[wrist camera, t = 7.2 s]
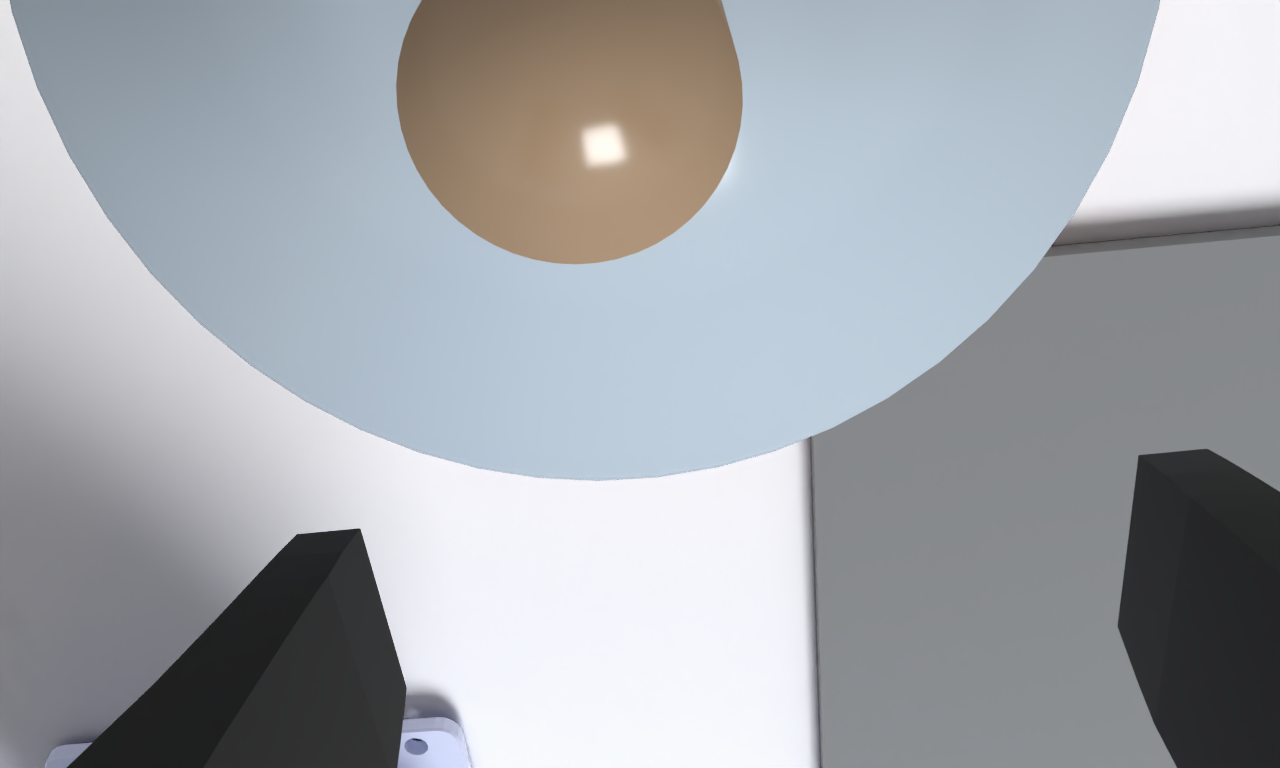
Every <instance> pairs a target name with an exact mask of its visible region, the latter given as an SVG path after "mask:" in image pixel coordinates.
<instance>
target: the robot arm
mask: <svg viewBox="0 0 1280 768" xmlns="http://www.w3.org/2000/svg"><path fill="white" fill-rule="evenodd" d="M1118 629H1119V632H1120V635H1121V638H1122V640H1123V643H1124V646H1125V649H1126V651H1127V654H1128V657H1129V660H1130V662H1131V665H1132V668H1133V671H1134V673H1135V676H1136V679H1137V682H1138V684H1139V687H1140V689H1141V692H1142V694H1143V697H1144V699H1145V702H1146V704H1147V707H1148V709H1149V712H1150V714H1151V717H1152V720H1153V722H1154V725H1155V726H1156V728H1157V730H1158V732H1159V734H1160V736H1161V738H1162V740H1163V742H1164V744H1165V746H1166V748H1167V750H1168V752H1169V753H1170V755H1171V757H1172V759H1173V761H1174V763H1175V765H1176V767H1177V768H1280V491H1278V490H1276V489H1275V488H1273V487H1271V486H1270V485H1268V484H1267V483H1265V482H1263V481H1262V480H1260V479H1259V478H1257V477H1255V476H1254V475H1252V474H1250V473H1249V472H1247V471H1245V470H1244V469H1242V468H1241V467H1239V466H1237V465H1235V464H1234V463H1232V462H1230V461H1229V460H1227V459H1225V458H1223V457H1222V456H1220V455H1218V454H1216V453H1214V452H1212V451H1211V450H1209V449H1198V450H1187V451H1177V452H1166V453H1155V454H1145V455H1138V463H1137V472H1136V480H1135V488H1134V496H1133V504H1132V512H1131V520H1130V528H1129V536H1128V545H1127V553H1126V561H1125V569H1124V577H1123V585H1122V593H1121V601H1120V609H1119V618H1118ZM405 697H406V684H405V681H404V678H403V674H402V671H401V667H400V664H399V660H398V657H397V653H396V650H395V647H394V643H393V640H392V636H391V633H390V629H389V626H388V622H387V619H386V616H385V612H384V609H383V605H382V602H381V598H380V595H379V591H378V588H377V585H376V581H375V578H374V574H373V571H372V567H371V564H370V560H369V557H368V554H367V550H366V547H365V543H364V540H363V536H362V533H361V529H349V530H339V531H328V532H317V533H307V534H297V535H296V536H295V537H294V538H293V539H292V540H291V541H290V542H289V543H288V544H287V545H286V546H285V547H284V548H283V549H282V550H281V551H280V552H279V553H278V554H277V555H276V556H275V557H274V558H273V559H272V560H271V561H270V562H269V563H268V564H267V566H266V567H265V568H264V569H263V570H262V571H261V572H260V573H259V574H258V575H257V576H256V577H255V578H254V579H253V580H252V582H251V583H250V584H249V585H248V586H247V587H246V588H245V589H244V590H243V591H242V592H241V593H240V594H239V595H238V597H237V598H236V599H235V600H234V601H233V602H232V603H231V604H230V605H229V606H228V607H227V608H226V609H225V610H224V612H223V613H222V614H221V615H220V616H219V617H218V618H217V619H216V620H215V621H214V622H213V623H212V624H211V625H210V626H209V627H208V628H207V629H206V630H205V632H204V633H203V634H202V635H201V636H200V637H199V638H198V639H197V640H196V641H195V642H194V643H193V644H192V645H191V646H190V647H189V648H188V649H187V650H186V651H185V652H184V653H183V654H182V655H181V656H180V658H179V659H178V660H177V661H176V662H175V663H174V664H173V665H172V666H171V667H170V668H169V669H168V670H167V671H166V672H165V673H164V674H163V675H162V676H161V677H160V678H159V679H158V680H157V681H156V682H155V683H154V684H153V685H152V686H151V687H150V688H149V689H148V690H147V691H146V692H145V693H144V694H143V695H142V696H141V697H140V698H139V699H138V700H137V701H136V702H135V703H134V704H133V705H132V706H131V707H129V708H128V709H127V710H126V711H125V712H124V713H123V714H122V715H121V716H120V717H119V718H118V719H117V720H116V721H115V722H114V723H113V724H112V725H111V726H110V727H108V728H107V729H106V730H105V731H104V732H103V733H102V734H101V735H100V736H99V737H98V738H97V739H96V740H95V741H94V742H93V743H81V744H68V745H62V746H57V747H56V748H55V749H53V750H52V751H51V753H50V755H49V757H48V759H47V760H46V763H45V765H44V767H45V768H472V767H471V763H470V759H469V755H468V751H467V747H466V743H465V739H464V735H463V731H462V729H461V727H460V726H459V725H458V724H457V723H456V722H454V721H453V720H450V719H448V718H444V717H431V718H418V719H404V720H403V716H404V707H405ZM412 738H417V739H421V740H423V741H415V740H413V739H412Z"/></svg>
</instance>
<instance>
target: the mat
mask: <svg viewBox="0 0 1280 768" xmlns="http://www.w3.org/2000/svg"><path fill="white" fill-rule="evenodd" d="M1198 449H1209V450H1211V451H1212V452H1214V453H1216V454H1218V455H1220V456H1222V457H1223V458H1225V459H1227V460H1229V461H1230V462H1232V463H1234V464H1235V465H1237V466H1239V467H1241V468H1242V469H1244V470H1245V471H1247V472H1249V473H1250V474H1252V475H1254V476H1255V477H1257V478H1259V479H1260V480H1262V481H1263V482H1265V483H1267V484H1268V485H1270V486H1271V487H1273V488H1275V489H1276V490H1278V491H1280V225H1279V226H1268V227H1257V228H1246V229H1235V230H1224V231H1214V232H1203V233H1192V234H1181V235H1170V236H1159V237H1148V238H1137V239H1126V240H1115V241H1105V242H1094V243H1083V244H1072V245H1061V246H1051V247H1050V248H1049V250H1048V251H1047V252H1046V254H1045V255H1044V257H1043V258H1042V259H1041V261H1040V262H1039V263H1038V265H1037V266H1036V268H1035V269H1034V270H1033V271H1032V272H1031V274H1030V275H1029V276H1028V277H1027V278H1026V279H1025V280H1024V281H1023V282H1022V283H1021V284H1020V286H1019V287H1018V288H1017V289H1016V290H1015V291H1014V292H1013V293H1012V294H1011V295H1010V297H1009V298H1008V299H1007V300H1006V301H1005V302H1004V303H1003V304H1002V305H1001V306H1000V307H999V309H998V310H997V311H996V312H995V313H994V314H993V315H992V316H991V317H990V318H989V319H988V320H987V321H986V322H985V323H984V324H983V325H982V326H980V327H979V328H978V329H977V330H976V331H975V332H974V333H972V334H971V335H970V336H969V337H968V338H967V339H966V340H964V341H963V342H962V343H961V344H960V345H959V346H958V347H956V348H955V349H954V350H953V351H952V352H951V353H949V354H948V355H947V356H946V357H945V358H944V359H943V360H941V361H940V362H939V363H938V364H936V365H935V366H933V367H932V368H930V369H929V370H927V371H926V372H925V373H923V374H922V375H920V376H919V377H917V378H916V379H914V380H913V381H912V382H910V383H909V384H907V385H906V386H904V387H903V388H901V389H900V390H899V391H897V392H896V393H894V394H893V395H891V396H890V397H888V398H887V399H885V400H883V401H881V402H880V403H878V404H876V405H874V406H872V407H870V408H868V409H867V410H865V411H863V412H861V413H859V414H857V415H855V416H854V417H852V418H850V419H848V420H846V421H844V422H842V423H841V424H839V425H837V426H835V427H833V428H831V429H828V430H826V431H823V432H821V433H819V434H816V435H814V436H811V458H812V490H813V523H814V555H815V588H816V620H817V653H818V685H819V718H820V750H821V768H1177V767H1176V765H1175V763H1174V761H1173V759H1172V757H1171V755H1170V753H1169V752H1168V750H1167V748H1166V746H1165V744H1164V742H1163V740H1162V738H1161V736H1160V734H1159V732H1158V730H1157V728H1156V726H1155V725H1154V722H1153V720H1152V717H1151V714H1150V712H1149V709H1148V707H1147V704H1146V702H1145V699H1144V697H1143V694H1142V692H1141V689H1140V687H1139V684H1138V682H1137V679H1136V676H1135V673H1134V671H1133V668H1132V665H1131V662H1130V660H1129V657H1128V654H1127V651H1126V649H1125V646H1124V643H1123V640H1122V638H1121V635H1120V632H1119V629H1118V618H1119V609H1120V601H1121V593H1122V585H1123V577H1124V569H1125V561H1126V553H1127V545H1128V536H1129V528H1130V520H1131V512H1132V504H1133V496H1134V488H1135V480H1136V472H1137V463H1138V455H1145V454H1155V453H1166V452H1177V451H1187V450H1198Z"/></svg>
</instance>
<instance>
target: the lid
mask: <svg viewBox="0 0 1280 768" xmlns="http://www.w3.org/2000/svg"><path fill="white" fill-rule="evenodd" d="M1159 3H1160V0H10V4H11V9H12V13H13V16H14V19H15V22H16V25H17V28H18V31H19V34H20V37H21V40H22V43H23V46H24V49H25V52H26V55H27V58H28V61H29V64H30V67H31V70H32V73H33V76H34V79H35V82H36V85H37V88H38V90H39V92H40V94H41V97H42V99H43V101H44V103H45V105H46V107H47V109H48V111H49V114H50V116H51V118H52V120H53V122H54V124H55V126H56V128H57V131H58V133H59V135H60V137H61V139H62V141H63V143H64V146H65V148H66V150H67V152H68V154H69V156H70V158H71V159H72V161H73V163H74V164H75V166H76V167H77V169H78V171H79V172H80V174H81V176H82V177H83V179H84V180H85V182H86V184H87V185H88V187H89V189H90V190H91V192H92V193H93V195H94V197H95V198H96V200H97V202H98V203H99V205H100V206H101V208H102V210H103V211H104V213H105V214H106V216H107V218H108V219H109V220H110V222H111V223H112V224H113V225H114V227H115V228H116V229H117V231H118V232H119V233H120V234H121V236H122V237H123V238H124V240H125V241H126V242H127V243H128V245H129V246H130V247H131V249H132V250H133V251H134V252H135V254H136V255H137V256H138V257H139V259H140V260H141V261H142V263H143V264H144V265H145V266H146V268H147V269H148V270H149V272H150V273H151V274H152V275H153V276H154V277H155V278H156V279H157V280H158V281H159V282H160V283H161V284H162V285H163V286H164V287H165V288H166V289H167V290H168V291H169V292H170V294H171V295H172V296H173V297H174V298H175V299H176V300H177V301H178V302H179V303H180V304H181V305H182V306H183V307H184V308H185V309H186V310H187V311H188V312H189V313H190V314H191V315H192V316H193V317H194V318H195V319H196V320H197V321H198V322H199V323H200V324H201V325H202V326H204V327H205V328H206V329H207V330H208V331H210V332H211V333H212V334H213V335H214V336H216V337H217V338H218V339H219V340H221V341H222V342H223V343H224V344H225V345H227V346H228V347H229V348H230V349H231V350H233V351H234V352H235V353H236V354H237V355H239V356H240V357H241V358H242V359H244V360H245V361H246V362H247V363H248V364H250V365H251V366H252V367H254V368H255V369H257V370H258V371H260V372H262V373H263V374H265V375H266V376H268V377H269V378H271V379H272V380H274V381H275V382H277V383H278V384H280V385H281V386H283V387H284V388H286V389H287V390H289V391H290V392H292V393H293V394H295V395H296V396H298V397H299V398H301V399H303V400H304V401H306V402H308V403H310V404H312V405H314V406H316V407H317V408H319V409H321V410H323V411H325V412H327V413H329V414H331V415H333V416H335V417H337V418H339V419H341V420H343V421H345V422H347V423H349V424H350V425H352V426H354V427H356V428H358V429H360V430H362V431H365V432H368V433H370V434H373V435H375V436H378V437H381V438H383V439H386V440H388V441H391V442H393V443H396V444H399V445H401V446H404V447H406V448H409V449H412V450H414V451H417V452H419V453H423V454H427V455H431V456H434V457H438V458H442V459H445V460H449V461H453V462H457V463H460V464H464V465H468V466H471V467H475V468H479V469H486V470H492V471H498V472H505V473H511V474H517V475H524V476H530V477H537V478H553V479H574V480H594V481H602V480H619V479H636V478H653V477H662V476H668V475H674V474H680V473H686V472H692V471H698V470H704V469H710V468H716V467H720V466H724V465H727V464H731V463H734V462H738V461H741V460H745V459H748V458H752V457H756V456H759V455H763V454H766V453H770V452H773V451H776V450H779V449H781V448H784V447H786V446H789V445H791V444H794V443H796V442H799V441H801V440H804V439H806V438H809V437H811V436H814V435H816V434H819V433H821V432H823V431H826V430H828V429H831V428H833V427H835V426H837V425H839V424H841V423H842V422H844V421H846V420H848V419H850V418H852V417H854V416H855V415H857V414H859V413H861V412H863V411H865V410H867V409H868V408H870V407H872V406H874V405H876V404H878V403H880V402H881V401H883V400H885V399H887V398H888V397H890V396H891V395H893V394H894V393H896V392H897V391H899V390H900V389H901V388H903V387H904V386H906V385H907V384H909V383H910V382H912V381H913V380H914V379H916V378H917V377H919V376H920V375H922V374H923V373H925V372H926V371H927V370H929V369H930V368H932V367H933V366H935V365H936V364H938V363H939V362H940V361H941V360H943V359H944V358H945V357H946V356H947V355H948V354H949V353H951V352H952V351H953V350H954V349H955V348H956V347H958V346H959V345H960V344H961V343H962V342H963V341H964V340H966V339H967V338H968V337H969V336H970V335H971V334H972V333H974V332H975V331H976V330H977V329H978V328H979V327H980V326H982V325H983V324H984V323H985V322H986V321H987V320H988V319H989V318H990V317H991V316H992V315H993V314H994V313H995V312H996V311H997V310H998V309H999V307H1000V306H1001V305H1002V304H1003V303H1004V302H1005V301H1006V300H1007V299H1008V298H1009V297H1010V295H1011V294H1012V293H1013V292H1014V291H1015V290H1016V289H1017V288H1018V287H1019V286H1020V284H1021V283H1022V282H1023V281H1024V280H1025V279H1026V278H1027V277H1028V276H1029V275H1030V274H1031V272H1032V271H1033V270H1034V269H1035V268H1036V266H1037V265H1038V263H1039V262H1040V261H1041V259H1042V258H1043V257H1044V255H1045V254H1046V252H1047V251H1048V250H1049V248H1050V247H1051V245H1052V244H1053V243H1054V241H1055V240H1056V239H1057V237H1058V236H1059V234H1060V233H1061V232H1062V230H1063V229H1064V227H1065V226H1066V225H1067V223H1068V222H1069V221H1070V219H1071V218H1072V216H1073V215H1074V214H1075V212H1076V210H1077V208H1078V206H1079V205H1080V203H1081V201H1082V199H1083V198H1084V196H1085V194H1086V192H1087V190H1088V189H1089V187H1090V185H1091V183H1092V181H1093V180H1094V178H1095V176H1096V174H1097V173H1098V171H1099V169H1100V167H1101V165H1102V164H1103V162H1104V160H1105V158H1106V156H1107V155H1108V153H1109V151H1110V149H1111V146H1112V144H1113V141H1114V139H1115V137H1116V134H1117V132H1118V129H1119V127H1120V124H1121V122H1122V120H1123V117H1124V115H1125V112H1126V110H1127V108H1128V105H1129V103H1130V100H1131V98H1132V95H1133V93H1134V91H1135V88H1136V86H1137V83H1138V80H1139V77H1140V73H1141V70H1142V66H1143V62H1144V59H1145V55H1146V52H1147V48H1148V45H1149V41H1150V37H1151V34H1152V30H1153V27H1154V23H1155V20H1156V16H1157V12H1158V9H1159Z"/></svg>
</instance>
